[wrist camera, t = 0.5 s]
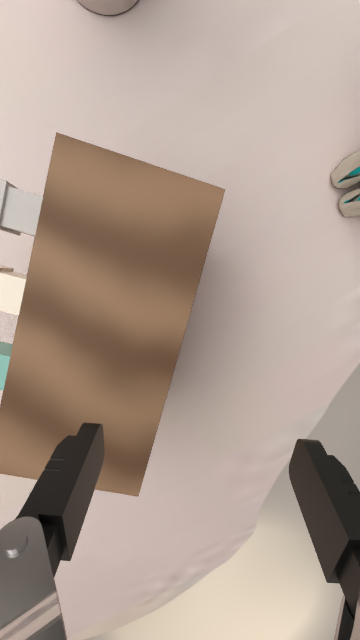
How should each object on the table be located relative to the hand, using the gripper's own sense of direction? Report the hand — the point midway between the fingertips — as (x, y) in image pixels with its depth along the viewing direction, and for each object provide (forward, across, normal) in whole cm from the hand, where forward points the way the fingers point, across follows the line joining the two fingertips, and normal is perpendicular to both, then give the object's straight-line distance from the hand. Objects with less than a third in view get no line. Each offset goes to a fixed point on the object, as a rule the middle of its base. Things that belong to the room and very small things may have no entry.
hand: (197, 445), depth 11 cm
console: (+24, +8, +4) cm, 26 cm away
